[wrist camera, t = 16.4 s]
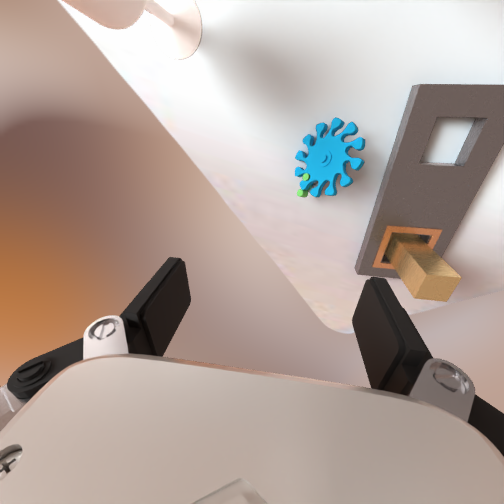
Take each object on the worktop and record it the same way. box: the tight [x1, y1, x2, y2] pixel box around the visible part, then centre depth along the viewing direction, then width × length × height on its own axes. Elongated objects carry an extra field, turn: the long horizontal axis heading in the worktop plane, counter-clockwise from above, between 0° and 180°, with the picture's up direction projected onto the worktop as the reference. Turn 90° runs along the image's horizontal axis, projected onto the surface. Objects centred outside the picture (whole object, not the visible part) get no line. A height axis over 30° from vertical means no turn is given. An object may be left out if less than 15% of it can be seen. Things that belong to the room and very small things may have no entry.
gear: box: [295, 118, 365, 197], centre depth 32 cm, size 11×6×10 cm
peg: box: [384, 233, 462, 302], centre depth 34 cm, size 4×4×12 cm
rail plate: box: [355, 84, 504, 279], centre depth 34 cm, size 28×12×2 cm, turn 179°
